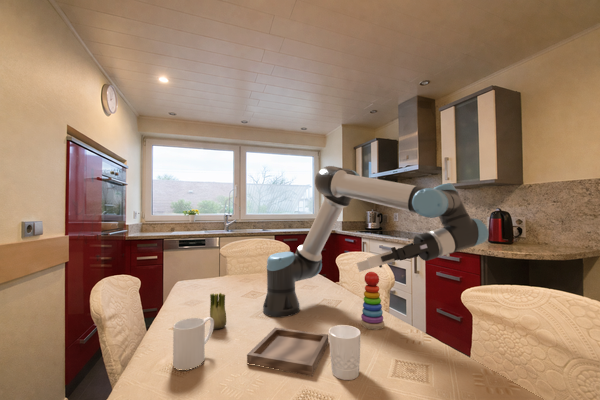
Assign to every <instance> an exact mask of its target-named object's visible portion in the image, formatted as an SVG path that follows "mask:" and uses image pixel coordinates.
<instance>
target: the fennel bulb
mask: <svg viewBox="0 0 600 400" xmlns="http://www.w3.org/2000/svg"><path fill="white" fill-rule="evenodd" d="M209 297H210V305H209V306H210V307H209V315H210V316H209V317H211V318H213V320H214V328H213V330H221V329H223V328H225V326H226V325H227V312H226V311H227V310H226V294H225V293H222V292H219V293H210V295H209Z"/></svg>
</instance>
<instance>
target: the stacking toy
mask: <svg viewBox="0 0 600 400" xmlns="http://www.w3.org/2000/svg"><path fill="white" fill-rule="evenodd" d="M364 282H365V284H366V285H365V286H364V290H365V291H364V292H363V296H364V297H363V303H362V307H363V308H362V314H361V315H360V317H361V320H360V324H361V326H362V327H363V328H365V329H369V330H381V329H383V328H385V321H384V316H383V313H384V311H383V310H382V308H383V305H382V303H381V301H382V299H381V298H380V296H381V294H380V292H379V291H380V286H378V284H379V282H380V277H379V275H378V273H377V272H374V271H367V272H366V273H365V275H364Z"/></svg>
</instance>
